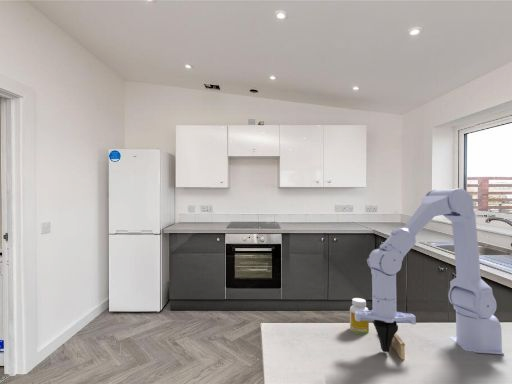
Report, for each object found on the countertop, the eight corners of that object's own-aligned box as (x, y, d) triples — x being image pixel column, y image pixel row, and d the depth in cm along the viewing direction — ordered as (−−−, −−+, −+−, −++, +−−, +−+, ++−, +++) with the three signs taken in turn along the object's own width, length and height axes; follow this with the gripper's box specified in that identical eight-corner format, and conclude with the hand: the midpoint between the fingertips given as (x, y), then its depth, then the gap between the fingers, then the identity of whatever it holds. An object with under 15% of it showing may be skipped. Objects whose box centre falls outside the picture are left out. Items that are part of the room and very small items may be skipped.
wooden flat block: (391, 345, 78) (391, 331, 78) (395, 346, 78) (395, 331, 78) (400, 359, 71) (400, 343, 71) (405, 359, 71) (404, 343, 71)
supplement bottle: (371, 336, 84) (371, 303, 85) (353, 336, 85) (352, 302, 85) (365, 328, 90) (364, 297, 90) (347, 328, 90) (347, 296, 90)
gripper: (358, 300, 72) (359, 356, 71) (420, 303, 70) (421, 360, 69) (352, 291, 79) (353, 342, 78) (409, 294, 77) (410, 346, 76)
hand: (384, 350), depth 74 cm, fingers closed
